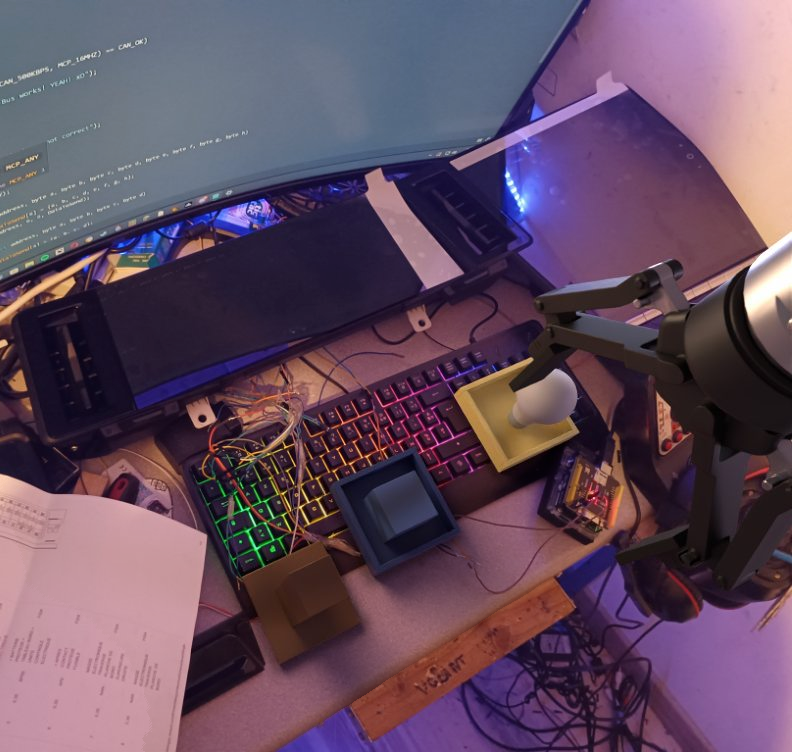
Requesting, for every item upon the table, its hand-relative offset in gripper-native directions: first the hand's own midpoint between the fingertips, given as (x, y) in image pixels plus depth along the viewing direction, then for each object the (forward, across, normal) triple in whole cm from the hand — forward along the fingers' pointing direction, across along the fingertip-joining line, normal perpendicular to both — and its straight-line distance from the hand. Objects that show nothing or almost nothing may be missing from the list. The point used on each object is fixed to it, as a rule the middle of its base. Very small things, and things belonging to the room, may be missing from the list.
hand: (576, 463), depth 51 cm
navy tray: (+29, -5, -4) cm, 29 cm away
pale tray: (+29, -9, +15) cm, 33 cm away
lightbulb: (+28, -8, +14) cm, 33 cm away
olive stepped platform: (+29, -1, -17) cm, 33 cm away
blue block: (+28, -5, -4) cm, 29 cm away
